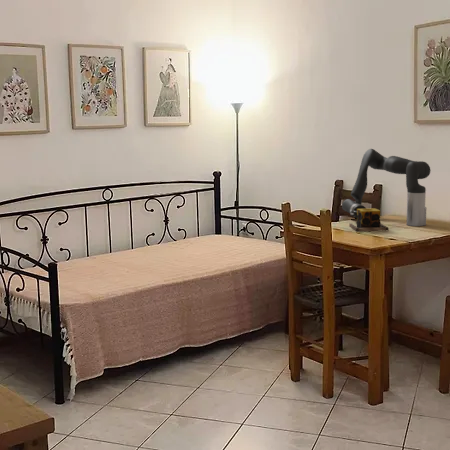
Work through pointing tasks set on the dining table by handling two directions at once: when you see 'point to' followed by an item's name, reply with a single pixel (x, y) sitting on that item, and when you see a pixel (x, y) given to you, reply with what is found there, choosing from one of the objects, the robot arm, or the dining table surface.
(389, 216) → the dining table surface
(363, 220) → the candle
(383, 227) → the walnut frame
